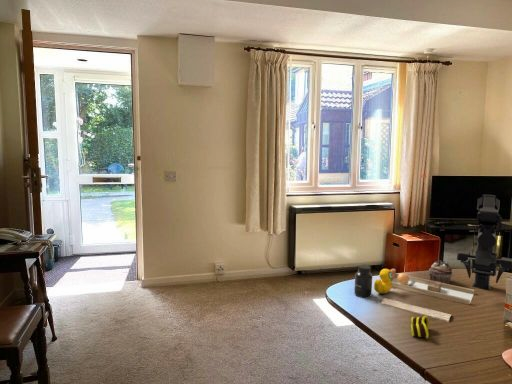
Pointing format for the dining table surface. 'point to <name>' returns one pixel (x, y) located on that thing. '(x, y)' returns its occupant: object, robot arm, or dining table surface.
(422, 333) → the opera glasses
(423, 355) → the dining table surface
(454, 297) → the lane rails
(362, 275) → the supplement bottle
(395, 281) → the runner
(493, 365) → the dining table surface
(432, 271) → the cupcake
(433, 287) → the paddle block
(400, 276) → the ball
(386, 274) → the duckling
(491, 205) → the robot arm
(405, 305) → the beige long flat bar
